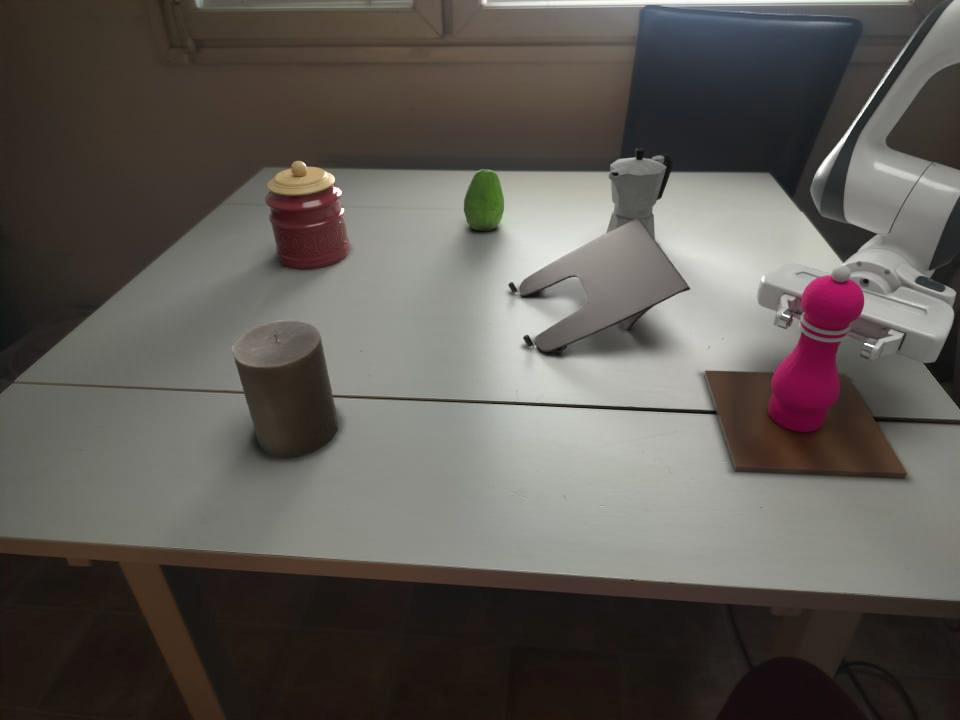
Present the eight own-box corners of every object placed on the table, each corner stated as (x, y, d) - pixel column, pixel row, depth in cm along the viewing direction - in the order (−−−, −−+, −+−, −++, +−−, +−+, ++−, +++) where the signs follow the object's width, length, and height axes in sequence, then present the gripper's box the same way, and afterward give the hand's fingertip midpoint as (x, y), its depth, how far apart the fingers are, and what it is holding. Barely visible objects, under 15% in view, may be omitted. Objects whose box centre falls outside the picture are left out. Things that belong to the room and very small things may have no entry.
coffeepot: (622, 266, 116) (633, 164, 105) (584, 247, 122) (591, 149, 112) (681, 242, 123) (697, 144, 113) (643, 225, 129) (654, 132, 119)
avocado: (511, 233, 128) (511, 172, 121) (473, 241, 126) (471, 179, 119) (494, 218, 134) (493, 159, 127) (458, 225, 132) (455, 165, 125)
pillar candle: (346, 449, 79) (326, 345, 71) (262, 471, 77) (231, 365, 68) (331, 402, 87) (312, 302, 78) (254, 420, 84) (225, 319, 75)
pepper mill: (830, 441, 76) (887, 287, 65) (763, 428, 78) (807, 277, 67) (825, 403, 82) (877, 255, 70) (763, 392, 84) (803, 247, 72)
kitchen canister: (300, 238, 128) (282, 146, 118) (362, 245, 125) (349, 151, 115) (265, 269, 118) (242, 171, 108) (331, 277, 115) (314, 177, 105)
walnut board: (843, 383, 87) (846, 374, 86) (902, 483, 73) (907, 473, 72) (703, 379, 89) (704, 370, 88) (733, 476, 74) (736, 466, 73)
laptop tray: (528, 314, 115) (504, 273, 109) (652, 252, 110) (634, 206, 105) (554, 397, 96) (526, 352, 91) (705, 326, 91) (685, 274, 86)
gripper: (790, 242, 85) (739, 281, 77) (973, 295, 73) (935, 347, 65) (778, 286, 89) (729, 327, 81) (951, 343, 77) (913, 398, 69)
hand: (822, 337), depth 73 cm, fingers open, 8 cm apart
